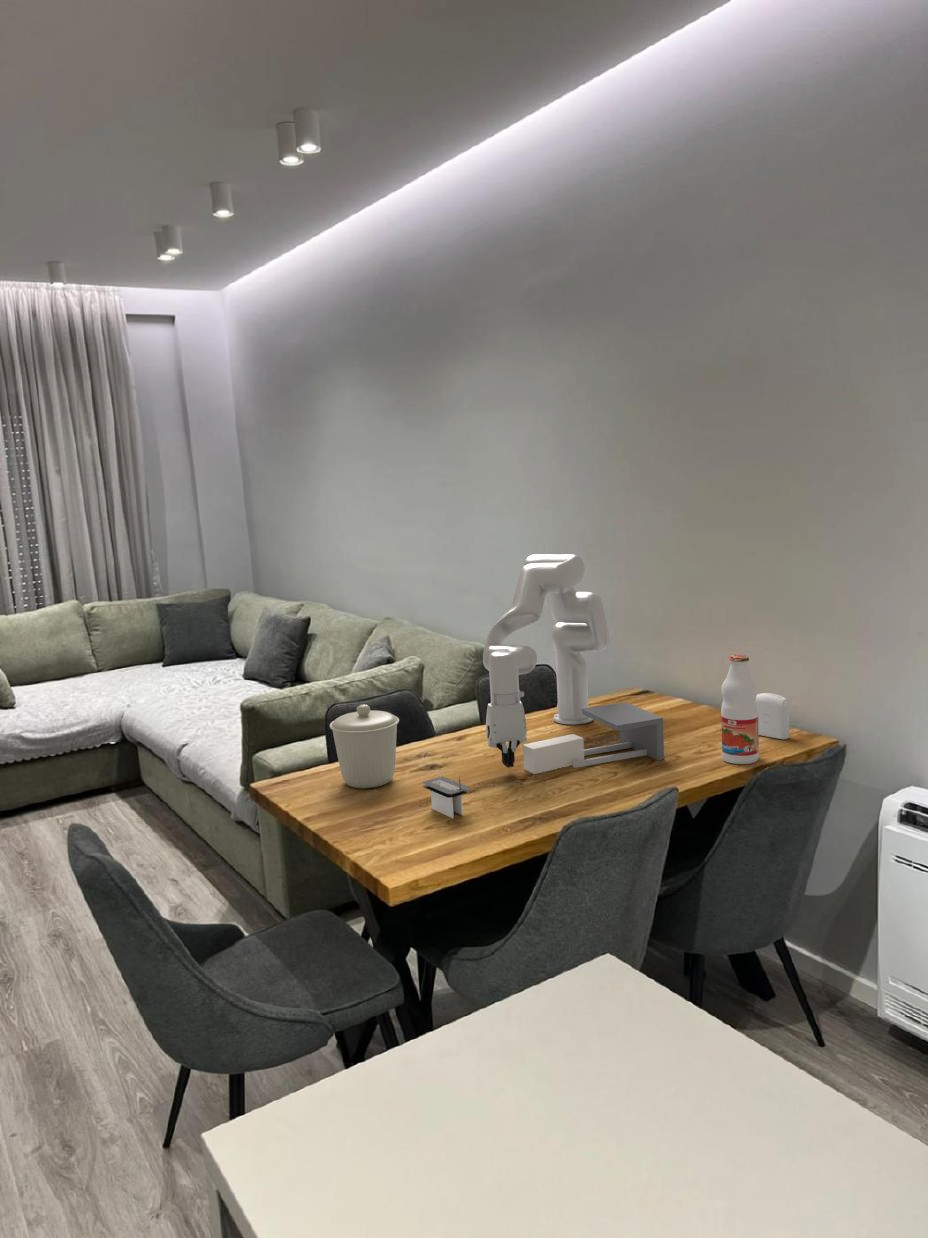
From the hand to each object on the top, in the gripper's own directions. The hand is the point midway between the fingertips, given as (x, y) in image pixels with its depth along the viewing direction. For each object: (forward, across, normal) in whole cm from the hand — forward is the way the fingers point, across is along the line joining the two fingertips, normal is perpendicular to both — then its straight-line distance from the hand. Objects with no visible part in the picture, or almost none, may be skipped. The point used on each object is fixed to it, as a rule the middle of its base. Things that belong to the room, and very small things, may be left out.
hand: (508, 765), depth 249 cm
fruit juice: (+2, -58, +20) cm, 61 cm away
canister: (+2, +35, -12) cm, 37 cm away
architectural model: (+3, +24, +18) cm, 30 cm away
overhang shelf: (+2, -29, 0) cm, 29 cm away
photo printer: (+2, -78, +7) cm, 78 cm away
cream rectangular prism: (+2, -13, 0) cm, 13 cm away
